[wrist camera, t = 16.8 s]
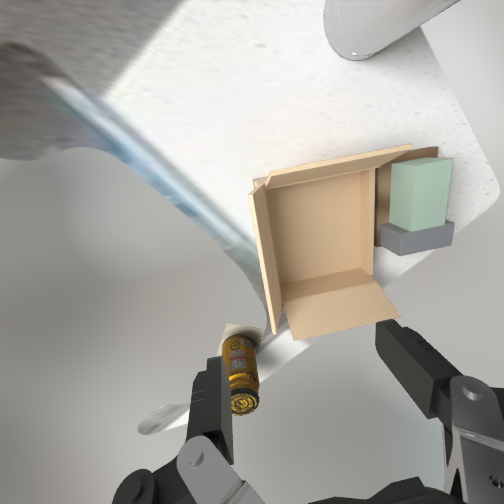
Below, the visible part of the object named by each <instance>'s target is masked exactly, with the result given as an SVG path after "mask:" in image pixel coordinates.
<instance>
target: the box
mask: <svg viewBox="0 0 504 504" xmlns="http://www.w3.org/2000/svg"><path fill="white" fill-rule="evenodd" d="M452 165H453V158H429V157H424V158H418V159H413V160H408V161H403V162H398V163H393V164H392V169H391V193H390V217H389V223H384V224H380V245H382V246H383V247H385V248H387V249H388V250H390V251H392V252H393V253H395V254H397V255H398V256H403V255H407V254H412V253H417V252H421V251H426V250H431V249H435V248H440V247H445V246H450V245H451V243H452V237H453V230H454V222H451V221H448V220H445V218H446V210H447V203H448V195H449V188H450V180H451V173H452Z"/></svg>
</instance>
